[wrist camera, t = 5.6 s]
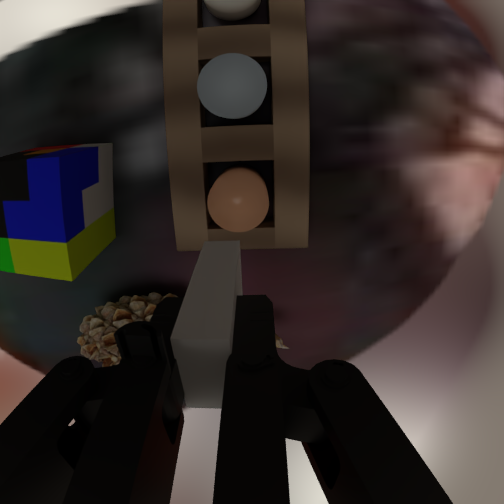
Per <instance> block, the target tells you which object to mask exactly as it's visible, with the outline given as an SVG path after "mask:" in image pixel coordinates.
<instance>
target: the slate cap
mask: <svg viewBox="0 0 504 504" xmlns="http://www.w3.org/2000/svg"><path fill="white" fill-rule="evenodd" d="M266 91H267V79H266V75H265V73H264V71H263V69H262V67H261V66H260V65H259V64H258V63H257V62H256V61H255V60H254V59H252V58H250V57H248V56H246V55H243V54H238V53H227V54H223V55H220V56H217V57H215V58H213V59H212V60H210V61H209V62H208V63H207V64H206V65H205V66H204V67H203V69H202V70H201V72H200V74H199V77H198V81H197V92H198V96H199V98H200V101H201V102H202V104H203V105H204V107H205V108H206V109H207V110H209V111H210V112H211V113H213V114H215V115H217V116H219V117H223V118H231V119H239V118H244V117H247V116H249V115H251V114H253V113H254V112H255V111H256V110H257V109H258V108H259V107H260V105H261V104H262V102H263V100H264V97H265V95H266Z"/></svg>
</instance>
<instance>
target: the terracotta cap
mask: <svg viewBox="0 0 504 504" xmlns="http://www.w3.org/2000/svg"><path fill="white" fill-rule="evenodd" d="M207 205H208V210H209V213H210V215H211V217H212V219H213V220H214V221H215V223H217V224H218V225H219V226H220V227H222V228H223V229H225V230H228V231H231V232H246V231H249V230H252V229H254V228H255V227H257V226H258V225H259V224H260V223H261V222H262V221H263V220H264V218H265V216H266V214H267V212H268V208H269V198H268V192H267V187H266V182H265V180H264V178H263V176H262V175H261V173H260V172H259V171H258V170H256V169H255V168H253V167H251V166H249V165H244V164H237V165H232V166H230V167H228V168H226V169H225V170H223V171H222V172H221V174H220V175H219V176H218V178H217V180H216V181H215V183H214V184H213V186H212V188H211V189H210V192H209V195H208V200H207Z"/></svg>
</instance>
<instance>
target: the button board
mask: <svg viewBox="0 0 504 504" xmlns="http://www.w3.org/2000/svg"><path fill="white" fill-rule="evenodd" d="M267 12H268V24H252V25H229V26H215V27H204V28H203V22H202V0H163V79H164V104H165V123H166V139H167V153H168V166H169V178H170V189H171V199H172V209H173V218H174V227H175V236H176V244H177V251H199V250H202V247H203V244H204V242H205V241H237V240H240V249H275V248H308V227H309V174H310V133H309V82H308V55H307V34H306V17H305V2H304V0H267ZM227 53H238V54H243V55H246V56H248V57H250V58H252V59H254V60H255V61H256V62H270V90H271V124H260V125H232V126H214V127H206V120H205V107H204V105H203V104H202V102H201V101H200V98H199V96H198V92H197V81H198V77H199V74H200V72H201V70H202V69H203V65H206V64H207V63H208V62H209V61H210V60H212V59H213V58H215V57H217V56H220V55H223V54H227ZM250 160H272V173H273V218H264V220H263V221H262V222H261V223H260V224H259V225H258V226H257V227H255V228H254V229H252V230H249V231H246V232H231V231H228V230H225V229H223V228H222V227H220V226H219V225H218V224H217V223H215V221H214V220H213V219H211V215H210V213H209V210H208V205H207V200H208V195H209V192H210V191H209V175H208V162H224V161H250Z"/></svg>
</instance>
